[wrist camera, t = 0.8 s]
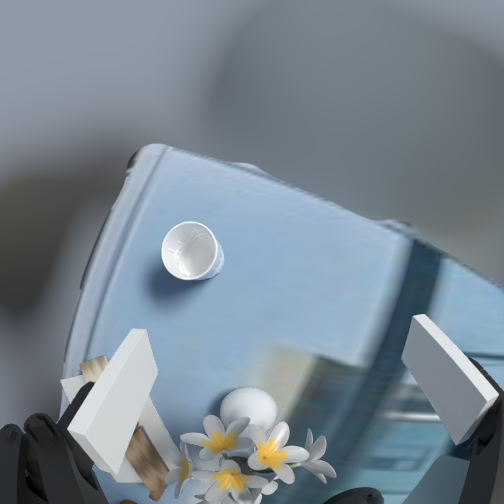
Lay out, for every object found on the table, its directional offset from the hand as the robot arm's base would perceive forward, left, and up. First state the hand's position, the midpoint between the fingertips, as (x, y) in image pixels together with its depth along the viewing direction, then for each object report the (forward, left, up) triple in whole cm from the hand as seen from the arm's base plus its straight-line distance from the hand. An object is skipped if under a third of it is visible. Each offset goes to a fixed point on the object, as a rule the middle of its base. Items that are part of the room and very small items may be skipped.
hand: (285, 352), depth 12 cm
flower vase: (-14, +9, -32) cm, 36 cm away
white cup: (+12, +7, -32) cm, 35 cm away
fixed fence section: (-19, +33, -32) cm, 50 cm away
